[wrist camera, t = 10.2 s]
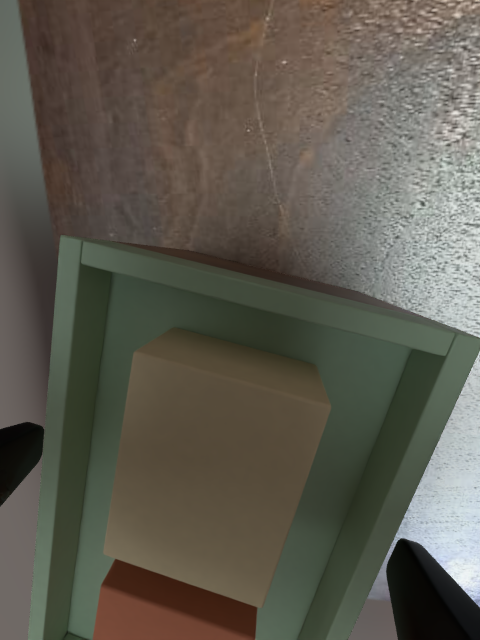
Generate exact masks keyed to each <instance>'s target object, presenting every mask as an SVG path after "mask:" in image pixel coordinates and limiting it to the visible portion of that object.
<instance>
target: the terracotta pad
mask: <svg viewBox="0 0 480 640" xmlns="http://www.w3.org/2000/svg"><path fill="white" fill-rule="evenodd" d="M256 623H257V607H255V606H252V605H249V604H246V603H244V602H241V601H238V600H235V599H232V598H229V597H226V596H223V595H220V594H217V593H214V592H211V591H208V590H206V589H203V588H200V587H197V586H194V585H191V584H188V583H185V582H182V581H179V580H176V579H173V578H170V577H168V576H165V575H162V574H159V573H156V572H153V571H150V570H147V569H144V568H141V567H138V566H135V565H133V564H130V563H127V562H124V561H121V560H118V559H115V560H114V562H113V564H112V566H111V568H110V569H109V571H108V573H107V575H106V577H105V579H104V580H103V582H102V584H101V588H100V594H99V601H98V607H97V614H96V620H95V626H94V633H93V639H92V640H255V639H256Z"/></svg>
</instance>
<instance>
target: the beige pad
mask: <svg viewBox="0 0 480 640" xmlns="http://www.w3.org/2000/svg"><path fill="white" fill-rule="evenodd" d="M330 410H331V404H330V402H329V399H328V396H327V393H326V390H325V388H324V385H323V382H322V379H321V377H320V374H319V371H318V368H317V366H316V365H314V364H311V363H307V362H303V361H299V360H296V359H292V358H288V357H284V356H281V355H277V354H273V353H269V352H266V351H262V350H258V349H254V348H251V347H247V346H243V345H239V344H236V343H232V342H228V341H224V340H220V339H217V338H213V337H209V336H205V335H202V334H198V333H194V332H190V331H187V330H183V329H179V328H175V327H173V328H171V329H170V330H168V331H166V332H165V333H163V334H162V335H160V336H158V337H157V338H155V339H154V340H152V341H150V342H149V343H147V344H146V345H144V346H142V347H141V348H139V349H138V350H136V351H135V352H134V353H133V359H132V365H131V372H130V378H129V385H128V392H127V398H126V405H125V411H124V418H123V425H122V431H121V438H120V444H119V451H118V457H117V464H116V471H115V477H114V484H113V490H112V497H111V503H110V510H109V517H108V523H107V530H106V536H105V543H104V550H103V554H104V555H106V556H109V557H112V558H115V559H118V560H121V561H124V562H127V563H130V564H133V565H135V566H138V567H141V568H144V569H147V570H150V571H153V572H156V573H159V574H162V575H165V576H168V577H170V578H173V579H176V580H179V581H182V582H185V583H188V584H191V585H194V586H197V587H200V588H203V589H206V590H208V591H211V592H214V593H217V594H220V595H223V596H226V597H229V598H232V599H235V600H238V601H241V602H244V603H246V604H249V605H252V606H255V607H258V608H262V607H263V606H264V603H265V600H266V597H267V594H268V592H269V589H270V586H271V583H272V580H273V577H274V574H275V571H276V568H277V565H278V562H279V559H280V556H281V554H282V551H283V548H284V545H285V542H286V539H287V536H288V533H289V530H290V527H291V524H292V521H293V518H294V516H295V513H296V510H297V507H298V504H299V501H300V498H301V495H302V492H303V489H304V486H305V483H306V481H307V478H308V475H309V472H310V469H311V466H312V463H313V460H314V457H315V454H316V451H317V448H318V445H319V443H320V440H321V437H322V434H323V431H324V428H325V425H326V422H327V419H328V416H329V413H330Z"/></svg>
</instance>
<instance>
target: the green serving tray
mask: <svg viewBox="0 0 480 640" xmlns="http://www.w3.org/2000/svg"><path fill="white" fill-rule="evenodd" d="M173 327H175V328H179V329H183V330H187V331H190V332H194V333H198V334H202V335H205V336H209V337H213V338H217V339H220V340H224V341H228V342H232V343H236V344H239V345H243V346H247V347H251V348H254V349H258V350H262V351H266V352H269V353H273V354H277V355H281V356H284V357H288V358H292V359H296V360H299V361H303V362H307V363H311V364H314V365H316V366H317V368H318V371H319V374H320V377H321V379H322V382H323V385H324V388H325V390H326V393H327V396H328V399H329V402H330V404H331V410H330V413H329V416H328V419H327V422H326V425H325V428H324V431H323V434H322V437H321V440H320V443H319V445H318V448H317V451H316V454H315V457H314V460H313V463H312V466H311V469H310V472H309V475H308V478H307V481H306V483H305V486H304V489H303V492H302V495H301V498H300V501H299V504H298V507H297V510H296V513H295V516H294V518H293V521H292V524H291V527H290V530H289V533H288V536H287V539H286V542H285V545H284V548H283V551H282V554H281V556H280V559H279V562H278V565H277V568H276V571H275V574H274V577H273V580H272V583H271V586H270V589H269V592H268V594H267V597H266V600H265V603H264V606H263V607H262V608H258V607H257V623H256V639H255V640H348V638H349V636H350V634H351V632H352V629H353V627H354V625H355V623H356V621H357V618H358V616H359V614H360V612H361V610H362V608H363V605H364V603H365V601H366V599H367V597H368V594H369V592H370V590H371V588H372V586H373V583H374V581H375V579H376V577H377V575H378V572H379V570H380V568H381V566H382V564H383V562H384V559H385V557H386V555H387V553H388V551H389V548H390V546H391V544H392V542H393V540H394V537H395V535H396V533H397V531H398V529H399V526H400V524H401V522H402V520H403V518H404V515H405V513H406V511H407V509H408V507H409V504H410V502H411V500H412V498H413V496H414V494H415V491H416V489H417V487H418V485H419V483H420V480H421V478H422V476H423V474H424V472H425V469H426V467H427V465H428V463H429V461H430V458H431V456H432V454H433V452H434V450H435V447H436V445H437V443H438V441H439V439H440V436H441V434H442V432H443V430H444V428H445V426H446V423H447V421H448V419H449V417H450V415H451V412H452V410H453V408H454V406H455V404H456V401H457V399H458V397H459V395H460V393H461V390H462V388H463V386H464V384H465V382H466V379H467V377H468V375H469V373H470V371H471V368H472V366H473V364H474V362H475V360H476V357H477V355H478V353H479V351H480V338H479V337H476V336H473V335H471V334H468V333H466V332H463V331H460V330H458V329H455V328H452V327H450V326H447V325H444V324H442V323H439V322H437V321H434V320H430V319H426V318H422V317H418V316H414V315H410V314H406V313H402V312H398V311H394V310H390V309H386V308H381V307H377V306H373V305H369V304H365V303H361V302H357V301H353V300H349V299H345V298H341V297H337V296H333V295H328V294H324V293H320V292H316V291H312V290H308V289H304V288H300V287H296V286H292V285H288V284H284V283H280V282H275V281H271V280H267V279H263V278H259V277H255V276H251V275H247V274H243V273H239V272H235V271H231V270H227V269H222V268H218V267H214V266H210V265H206V264H202V263H198V262H194V261H190V260H186V259H182V258H178V257H174V256H170V255H165V254H161V253H157V252H153V251H149V250H145V249H141V248H137V247H133V246H129V245H125V244H121V243H117V242H112V241H107V240H98V239H91V238H82V237H74V236H66V235H61V236H60V246H59V259H58V271H57V284H56V296H55V310H54V322H53V334H52V346H51V359H50V373H49V384H48V397H47V409H46V421H45V434H44V435H45V436H44V446H43V459H42V472H41V485H40V497H39V509H38V521H37V535H36V546H35V560H34V571H33V584H32V597H31V610H30V621H29V634H28V640H92V639H93V633H94V626H95V620H96V614H97V607H98V601H99V594H100V588H101V584H102V582H103V580H104V579H105V577H106V575H107V573H108V571H109V569H110V568H111V566H112V564H113V562H114V560H115V558H112V557H109V556H106V555H104V554H103V550H104V543H105V536H106V530H107V523H108V517H109V510H110V503H111V497H112V490H113V484H114V477H115V471H116V464H117V457H118V451H119V444H120V438H121V431H122V425H123V418H124V411H125V405H126V398H127V392H128V385H129V378H130V372H131V365H132V359H133V353H134V352H135V351H136V350H138V349H139V348H141V347H142V346H144V345H146V344H147V343H149V342H150V341H152V340H154V339H155V338H157V337H158V336H160V335H162V334H163V333H165V332H166V331H168V330H170V329H171V328H173Z"/></svg>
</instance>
